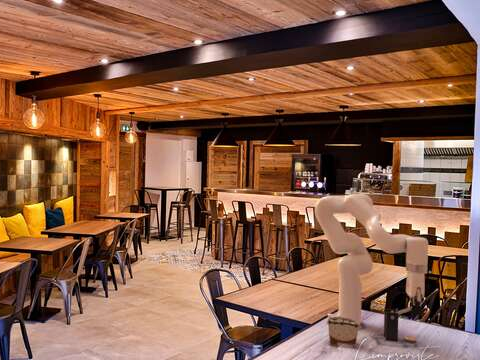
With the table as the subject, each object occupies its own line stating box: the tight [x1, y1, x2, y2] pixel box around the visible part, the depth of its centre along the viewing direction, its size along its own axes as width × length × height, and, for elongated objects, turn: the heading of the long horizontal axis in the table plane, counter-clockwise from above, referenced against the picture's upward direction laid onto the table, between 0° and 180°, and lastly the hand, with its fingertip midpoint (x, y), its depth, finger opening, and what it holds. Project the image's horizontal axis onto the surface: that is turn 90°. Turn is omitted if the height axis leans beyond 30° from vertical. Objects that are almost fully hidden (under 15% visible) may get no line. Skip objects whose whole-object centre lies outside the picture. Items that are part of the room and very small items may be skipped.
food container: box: [326, 317, 361, 347], centre depth 186 cm, size 12×6×10 cm, turn 71°
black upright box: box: [383, 308, 400, 343], centre depth 189 cm, size 10×8×13 cm
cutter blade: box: [391, 304, 413, 316], centre depth 187 cm, size 13×3×3 cm, turn 73°
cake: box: [402, 334, 417, 344], centre depth 187 cm, size 5×5×3 cm
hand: (415, 313), depth 186 cm, fingers closed on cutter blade, 3 cm apart
